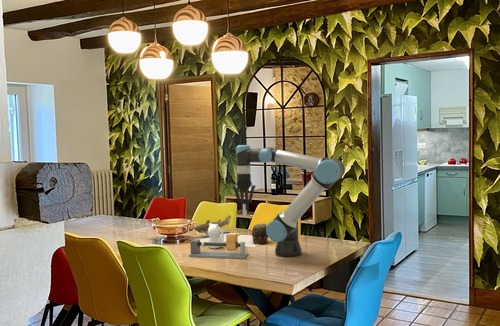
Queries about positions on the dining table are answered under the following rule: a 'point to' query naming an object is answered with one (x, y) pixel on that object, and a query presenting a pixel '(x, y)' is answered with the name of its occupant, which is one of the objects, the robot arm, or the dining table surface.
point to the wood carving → (204, 227)
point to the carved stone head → (259, 234)
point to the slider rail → (216, 254)
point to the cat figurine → (215, 235)
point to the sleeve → (232, 241)
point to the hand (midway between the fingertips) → (244, 215)
